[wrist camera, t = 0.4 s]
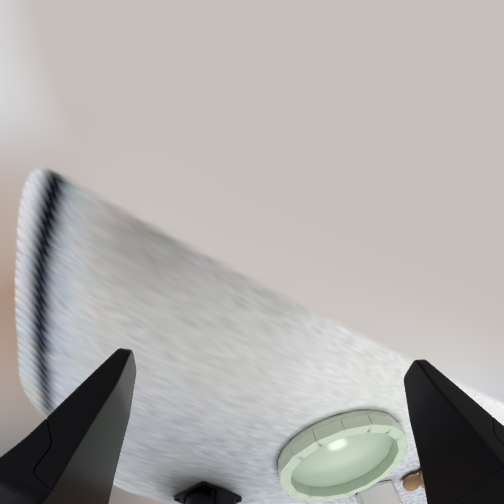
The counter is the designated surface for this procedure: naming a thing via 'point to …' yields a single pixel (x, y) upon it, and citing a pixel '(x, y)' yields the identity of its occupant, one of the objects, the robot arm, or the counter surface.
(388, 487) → the eye dropper bottle
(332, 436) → the sage dish
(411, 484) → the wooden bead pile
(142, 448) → the counter surface
